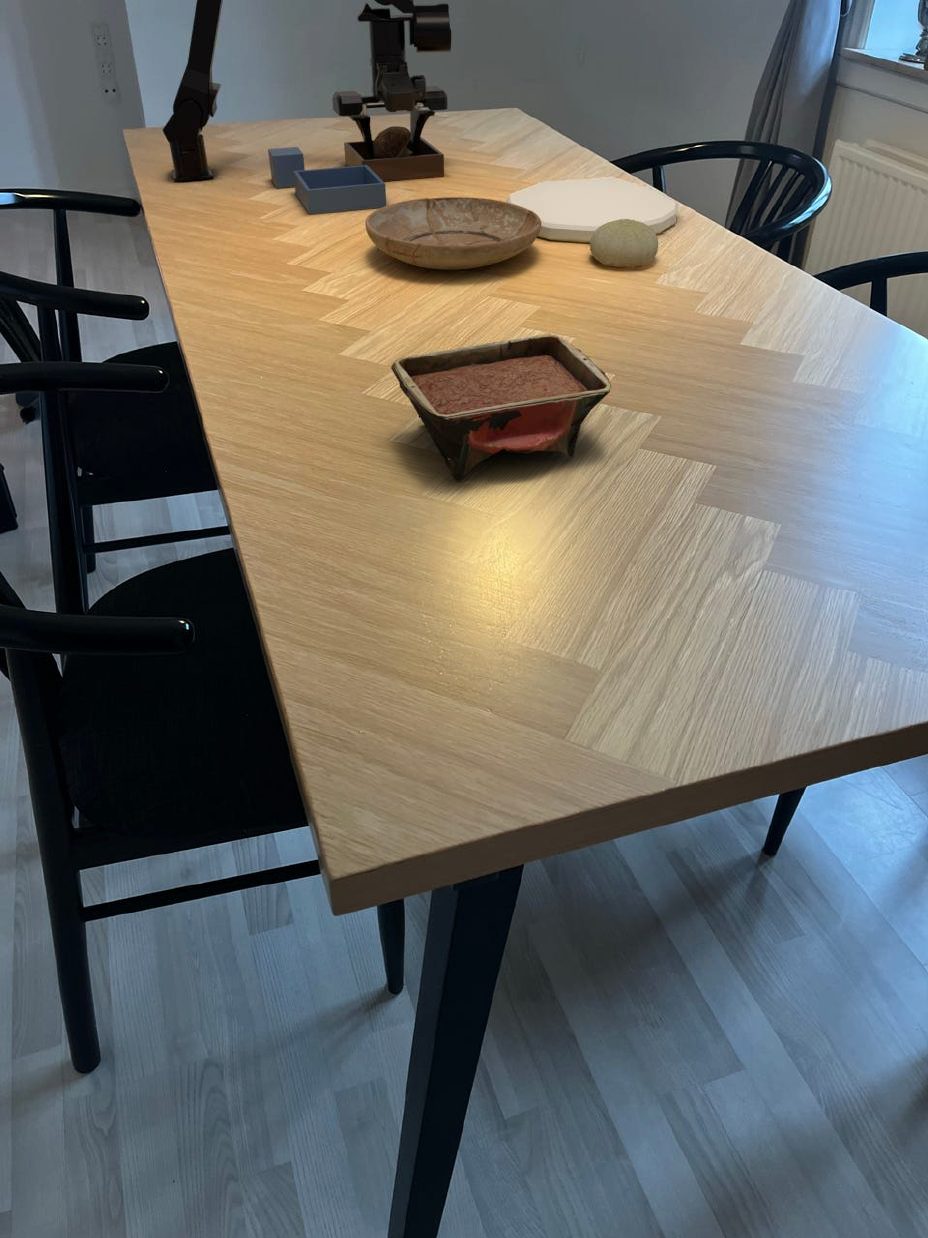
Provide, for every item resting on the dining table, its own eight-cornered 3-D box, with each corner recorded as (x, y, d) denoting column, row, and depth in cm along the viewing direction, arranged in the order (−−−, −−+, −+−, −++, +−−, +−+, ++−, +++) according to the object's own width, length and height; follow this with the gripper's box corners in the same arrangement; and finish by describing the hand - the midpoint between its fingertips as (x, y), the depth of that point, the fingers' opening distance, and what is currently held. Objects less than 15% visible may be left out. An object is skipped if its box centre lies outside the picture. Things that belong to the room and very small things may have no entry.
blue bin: (295, 193, 154) (292, 170, 152) (368, 187, 157) (367, 164, 154) (309, 214, 145) (306, 190, 143) (386, 207, 148) (385, 183, 145)
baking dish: (605, 487, 85) (629, 378, 79) (413, 490, 79) (425, 373, 74) (546, 427, 96) (564, 329, 91) (375, 426, 91) (383, 321, 85)
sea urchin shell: (676, 242, 127) (657, 207, 120) (647, 294, 127) (627, 262, 120) (620, 228, 132) (599, 193, 125) (592, 279, 132) (570, 247, 125)
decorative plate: (548, 220, 128) (486, 175, 146) (546, 252, 130) (486, 204, 149) (711, 203, 134) (633, 162, 152) (707, 234, 136) (630, 190, 155)
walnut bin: (345, 163, 169) (343, 142, 167) (421, 157, 173) (421, 136, 170) (363, 183, 159) (362, 160, 157) (444, 176, 162) (443, 154, 160)
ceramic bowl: (544, 285, 120) (546, 244, 117) (359, 285, 120) (356, 245, 117) (536, 230, 138) (537, 193, 135) (375, 230, 138) (373, 194, 135)
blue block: (271, 180, 160) (267, 148, 157) (301, 178, 161) (297, 146, 158) (276, 188, 156) (272, 155, 153) (306, 185, 158) (303, 153, 155)
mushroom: (428, 139, 164) (406, 108, 161) (413, 168, 161) (390, 137, 157) (396, 157, 170) (374, 128, 166) (381, 186, 166) (357, 156, 162)
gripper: (342, 63, 146) (350, 171, 156) (457, 57, 151) (457, 163, 161) (328, 52, 155) (336, 156, 164) (437, 47, 159) (438, 148, 169)
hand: (392, 156), depth 164 cm, fingers closed on mushroom, 7 cm apart
